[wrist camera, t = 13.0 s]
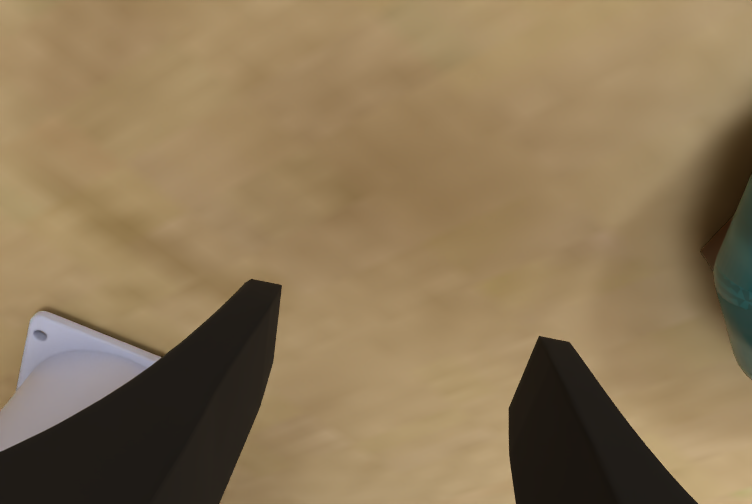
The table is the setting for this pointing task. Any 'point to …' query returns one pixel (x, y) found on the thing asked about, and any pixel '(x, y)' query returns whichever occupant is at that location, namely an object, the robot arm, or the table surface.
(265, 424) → the table surface
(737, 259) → the ring
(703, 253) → the stand
